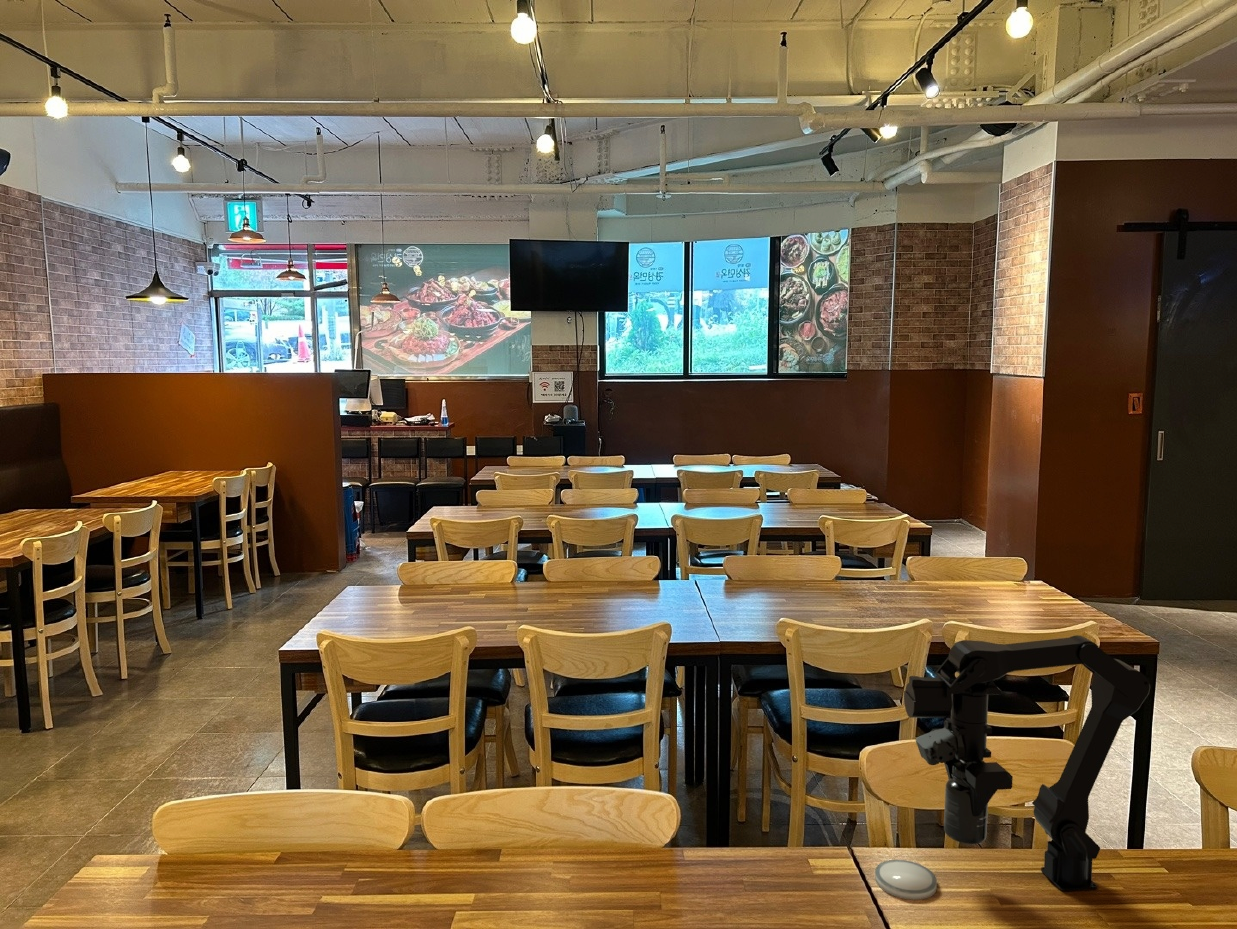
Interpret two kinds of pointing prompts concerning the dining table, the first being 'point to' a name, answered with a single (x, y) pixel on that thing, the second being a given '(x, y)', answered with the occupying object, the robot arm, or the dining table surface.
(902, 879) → the dish
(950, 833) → the supplement bottle
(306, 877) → the dining table surface
